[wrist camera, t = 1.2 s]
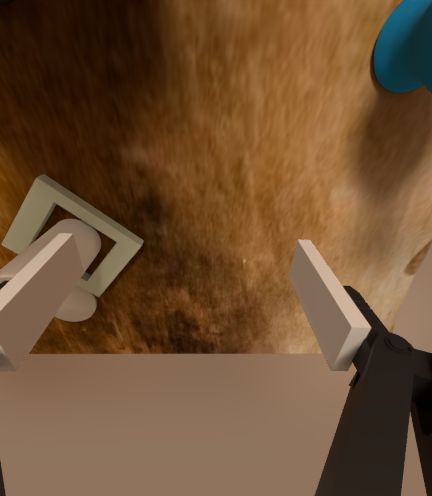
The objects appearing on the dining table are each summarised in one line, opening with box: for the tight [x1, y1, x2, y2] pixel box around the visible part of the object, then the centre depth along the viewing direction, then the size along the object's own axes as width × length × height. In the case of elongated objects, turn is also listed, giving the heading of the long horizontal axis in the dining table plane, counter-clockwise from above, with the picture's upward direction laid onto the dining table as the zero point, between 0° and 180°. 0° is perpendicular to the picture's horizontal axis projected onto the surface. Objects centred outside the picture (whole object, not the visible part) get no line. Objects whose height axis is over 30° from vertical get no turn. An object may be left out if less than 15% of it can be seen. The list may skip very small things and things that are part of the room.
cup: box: [0, 219, 101, 283], centre depth 38 cm, size 8×8×16 cm
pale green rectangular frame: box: [1, 174, 144, 297], centre depth 44 cm, size 18×15×2 cm
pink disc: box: [54, 285, 97, 322], centre depth 51 cm, size 11×11×1 cm
